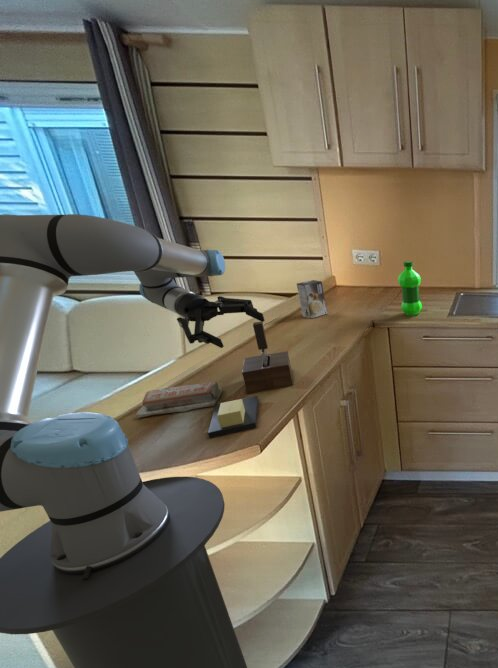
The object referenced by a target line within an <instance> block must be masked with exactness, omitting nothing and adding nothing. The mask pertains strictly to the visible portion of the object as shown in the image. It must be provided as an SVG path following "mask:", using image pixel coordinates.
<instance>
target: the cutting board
mask: <svg viewBox="0 0 498 668" xmlns="http://www.w3.org/2000/svg"><path fill="white" fill-rule="evenodd" d="M239 399H240V398H239ZM239 399H237V400H239ZM241 399H242V400H243V404H244V408H245V415H244V422H243V423H242V424H237V425H232V426H228V427H223V428H221V426H220V423H219V419H218V416H217V415H218V412H219V408H220V404H221V403H223V402H224V401H223V402H216V404H215V407H214V410H213V414H212V416H211V417H212V418H211V421H210V424H209V428H208V432H207V436H208V438H209V439H211V438H215V437H220V436H225V435H230V434H234V433H239V432H243V431H248V430H251V429H256V428H257V426H258V425H257V422H258V411H259V396H258V395H255V396H248V397H244V398H241ZM234 400H235V399H233V400H232V401H234Z"/></svg>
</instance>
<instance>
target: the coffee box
mask: <svg viewBox="0 0 498 668" xmlns="http://www.w3.org/2000/svg"><path fill="white" fill-rule="evenodd" d="M296 287H297V293H298V298H299V303H300V304H299V305H300V308H301V315H302V317H303V318H308V319H314V318H319V317H321V316H324V315H327V314H328V309H327V305H326V304H327V303H326V299H325V293H324V286H323V281H321V280H315V279H312V280H308V281H307V280H306V281H301V282H297V283H296ZM325 312H326V313H325Z"/></svg>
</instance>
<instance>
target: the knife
mask: <svg viewBox="0 0 498 668" xmlns="http://www.w3.org/2000/svg"><path fill="white" fill-rule="evenodd" d="M252 327H253V331H254V336H255V341H256V344H257V348H258V351H261V355H262V357H263V362H264V366H265V367H266V366H269V365H270V363H269V359H268V354H269V353H268V351H267V350H268V347H269V345H268V341H267V335H266V332H265V326H264V321H263V322H262V321H256V322H253V323H252Z"/></svg>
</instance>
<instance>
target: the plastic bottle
mask: <svg viewBox="0 0 498 668" xmlns="http://www.w3.org/2000/svg"><path fill="white" fill-rule="evenodd" d="M402 263H403V267H404V270H403V271H402V272H401V273H399V275H398V277H397V282H398V284H399V286H400V287H401V296H402V302H401V305H400V308H401V310H402V312H403V313H404V314H406V315H407V316H410V317H411V316H412V317H413V316H417V315H418V314H420V312H421V311H422V309H423V303H422V302H421V300H420V285H421V283H422V278H421V275H420V274H418V272H417V271H415V270H413V267H414V262H413V261H411V260H410V261H409V260H407V261H406V260H405V261H403V262H402Z"/></svg>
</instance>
